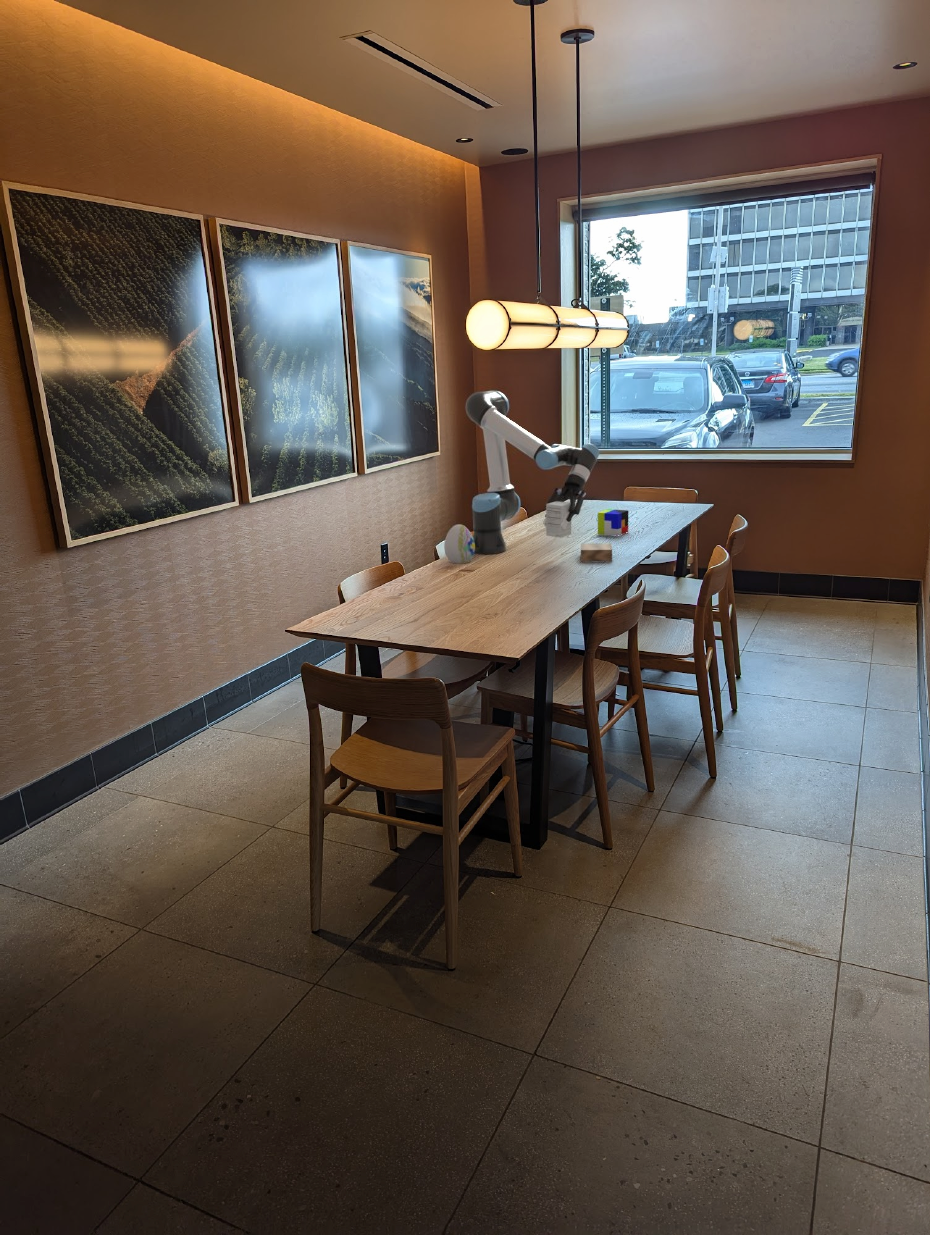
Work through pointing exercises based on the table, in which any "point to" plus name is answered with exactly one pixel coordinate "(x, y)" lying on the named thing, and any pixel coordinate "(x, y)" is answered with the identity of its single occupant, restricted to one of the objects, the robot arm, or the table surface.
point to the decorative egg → (459, 544)
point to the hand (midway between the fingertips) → (553, 526)
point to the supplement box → (557, 519)
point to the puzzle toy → (612, 522)
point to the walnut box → (596, 552)
